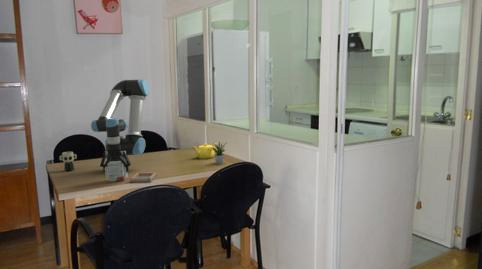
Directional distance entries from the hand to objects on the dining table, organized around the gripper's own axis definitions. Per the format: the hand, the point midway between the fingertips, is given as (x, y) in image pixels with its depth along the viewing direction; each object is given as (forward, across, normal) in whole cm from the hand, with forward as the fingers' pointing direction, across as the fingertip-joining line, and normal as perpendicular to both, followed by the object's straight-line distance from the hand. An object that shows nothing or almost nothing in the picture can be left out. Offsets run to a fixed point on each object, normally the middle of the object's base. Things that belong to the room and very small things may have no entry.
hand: (116, 177), depth 241 cm
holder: (+2, +17, +1) cm, 17 cm away
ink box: (+2, 0, 0) cm, 2 cm away
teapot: (+2, +48, +63) cm, 79 cm away
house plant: (+2, +61, +44) cm, 75 cm away
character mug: (+2, -45, +28) cm, 53 cm away
